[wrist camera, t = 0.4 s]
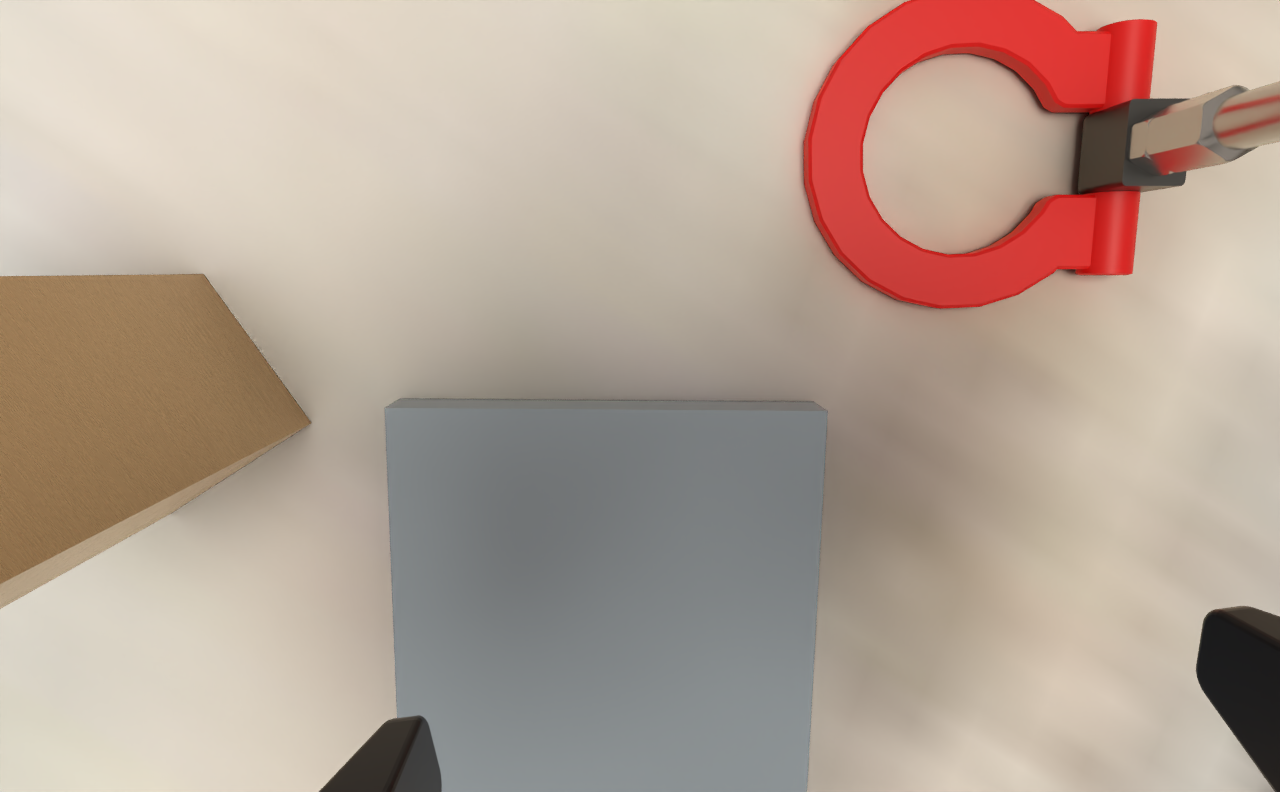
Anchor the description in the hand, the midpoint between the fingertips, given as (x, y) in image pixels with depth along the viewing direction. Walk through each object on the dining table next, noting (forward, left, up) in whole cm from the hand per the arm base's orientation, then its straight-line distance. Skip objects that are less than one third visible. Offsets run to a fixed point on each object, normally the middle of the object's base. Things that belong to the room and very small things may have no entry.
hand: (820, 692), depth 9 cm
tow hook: (+8, -8, -14) cm, 18 cm away
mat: (-6, +2, -14) cm, 16 cm away
